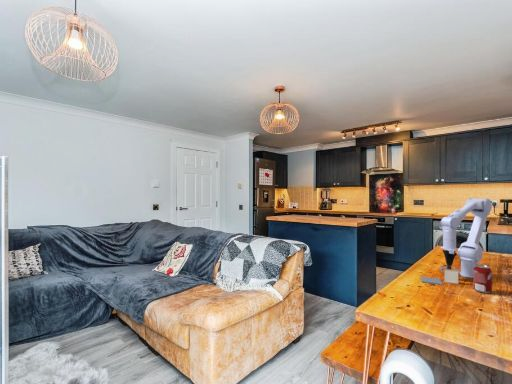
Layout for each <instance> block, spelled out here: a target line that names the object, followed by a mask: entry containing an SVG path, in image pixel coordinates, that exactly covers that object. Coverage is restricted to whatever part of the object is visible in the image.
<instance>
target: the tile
mask: <svg viewBox="0 0 512 384" xmlns="http://www.w3.org/2000/svg"><path fill="white" fill-rule="evenodd" d="M459 277H460V273H459V271H456V270H447V269H444V271H443V282H444V283H445V284H455V285H460V278H459Z"/></svg>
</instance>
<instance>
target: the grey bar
mask: <svg viewBox="0 0 512 384" xmlns="http://www.w3.org/2000/svg"><path fill="white" fill-rule="evenodd" d="M452 266H453V264H452V265H447V264H446V266H439V270H440V271H442V272H444V269H447V270H456V271H459V269H458V268H453V267H452Z"/></svg>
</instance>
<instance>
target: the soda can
mask: <svg viewBox="0 0 512 384" xmlns="http://www.w3.org/2000/svg"><path fill="white" fill-rule="evenodd" d="M472 279H473V287H472V288H473V290H475V291H476V292H477V293H481V294H489V293H492V292H493V271H492V269H491V266H489V265H486V264H478V265H475V267H474V276H473V278H472Z"/></svg>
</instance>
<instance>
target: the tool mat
mask: <svg viewBox="0 0 512 384" xmlns="http://www.w3.org/2000/svg"><path fill="white" fill-rule="evenodd" d="M419 278H420V280H421V283H422V284H423V283H424V284H429V285H430V284H431V285H438V286H443V282H442V279H441V278H437V277H428V276H421V275H420V277H419Z"/></svg>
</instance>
